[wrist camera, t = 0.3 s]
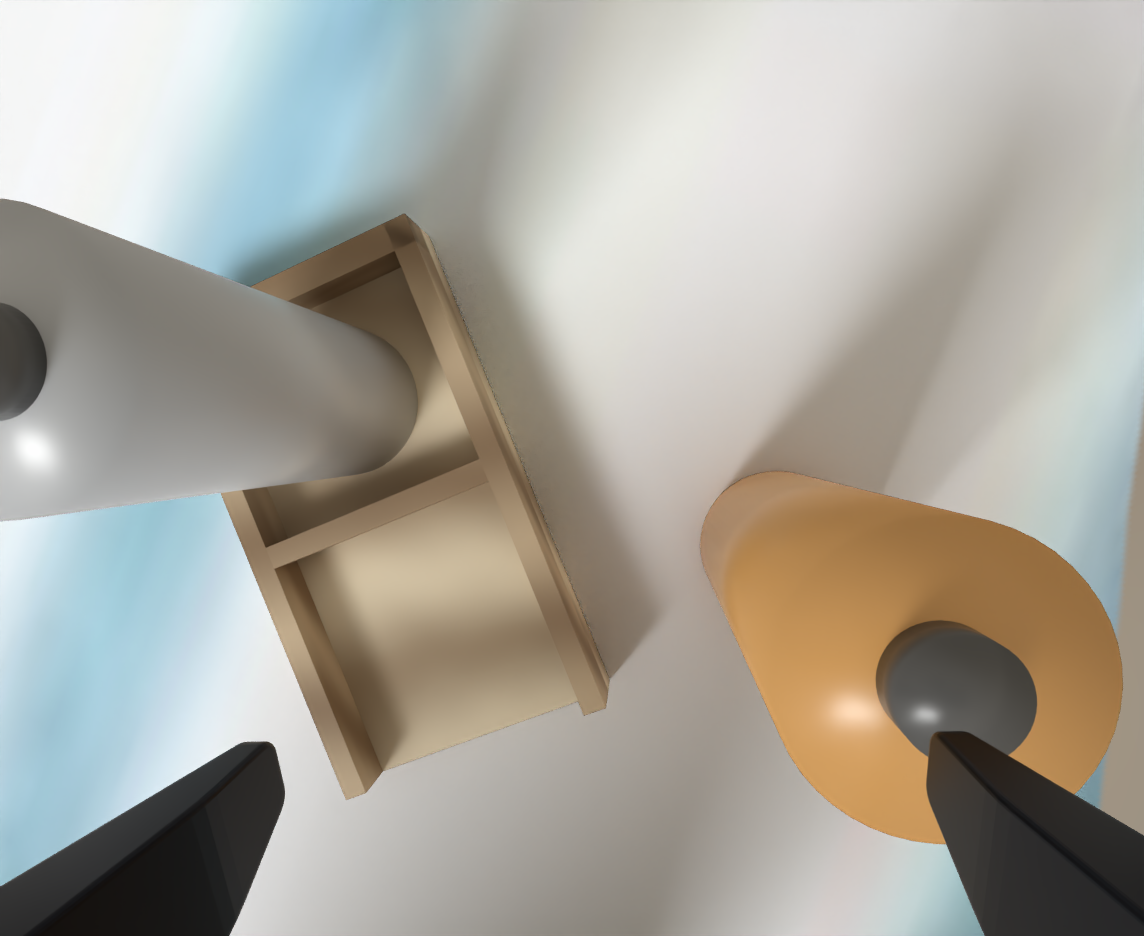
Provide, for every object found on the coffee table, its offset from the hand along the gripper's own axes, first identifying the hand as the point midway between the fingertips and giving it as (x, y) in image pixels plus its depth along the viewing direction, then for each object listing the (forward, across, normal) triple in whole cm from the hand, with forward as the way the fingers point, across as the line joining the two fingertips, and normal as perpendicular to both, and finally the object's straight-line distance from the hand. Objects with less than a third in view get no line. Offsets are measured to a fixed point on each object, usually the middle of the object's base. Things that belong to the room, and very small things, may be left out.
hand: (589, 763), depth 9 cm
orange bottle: (+15, -6, +3) cm, 16 cm away
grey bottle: (+16, +10, -3) cm, 18 cm away
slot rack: (+16, +8, +1) cm, 17 cm away
